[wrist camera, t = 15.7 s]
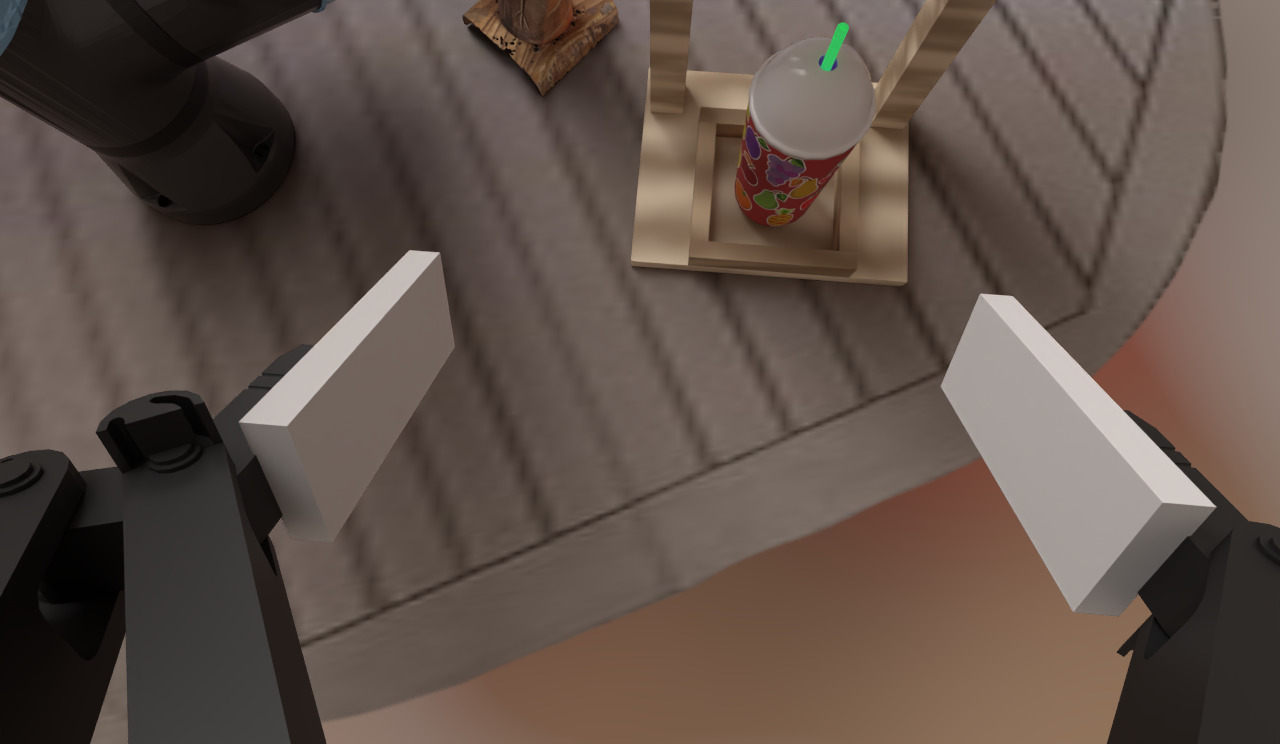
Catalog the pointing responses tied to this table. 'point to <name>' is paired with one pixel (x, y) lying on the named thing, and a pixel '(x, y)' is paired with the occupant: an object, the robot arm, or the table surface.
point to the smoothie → (801, 126)
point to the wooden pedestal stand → (710, 148)
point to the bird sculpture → (545, 32)
